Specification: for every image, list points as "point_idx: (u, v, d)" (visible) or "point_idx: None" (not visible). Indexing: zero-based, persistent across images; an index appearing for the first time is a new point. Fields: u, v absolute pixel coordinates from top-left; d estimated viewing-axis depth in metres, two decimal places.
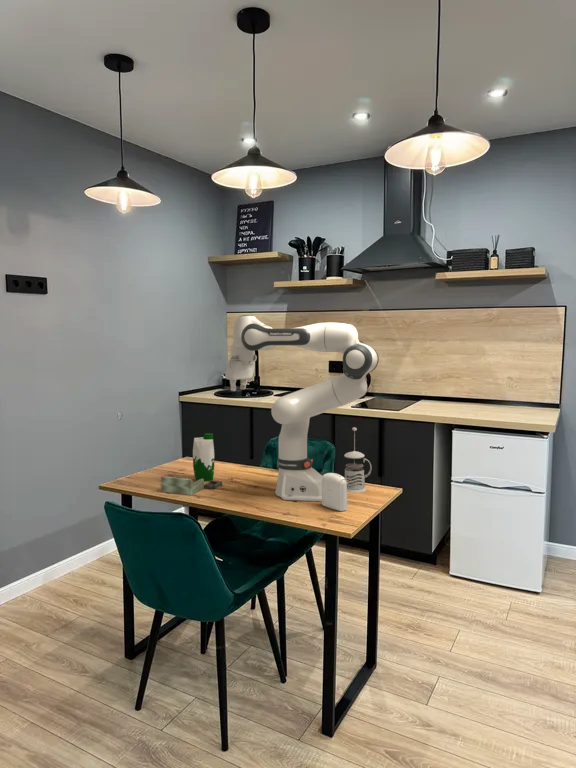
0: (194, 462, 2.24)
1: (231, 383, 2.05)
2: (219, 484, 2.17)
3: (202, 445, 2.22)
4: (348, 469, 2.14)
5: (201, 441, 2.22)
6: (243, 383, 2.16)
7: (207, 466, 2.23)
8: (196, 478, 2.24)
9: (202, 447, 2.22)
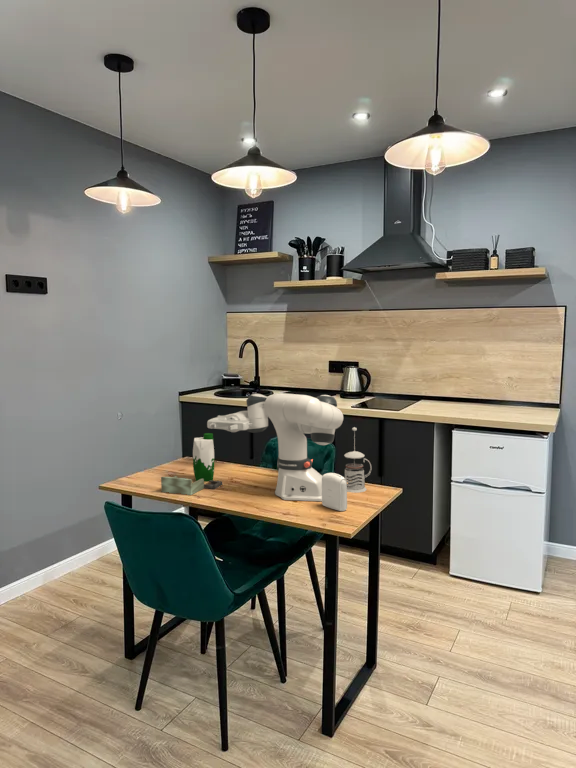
0: (194, 462, 2.24)
1: (235, 426, 2.40)
2: (219, 484, 2.17)
3: (202, 445, 2.22)
4: (348, 469, 2.14)
5: (201, 441, 2.22)
6: None
7: (207, 466, 2.23)
8: (196, 478, 2.24)
9: (202, 447, 2.22)
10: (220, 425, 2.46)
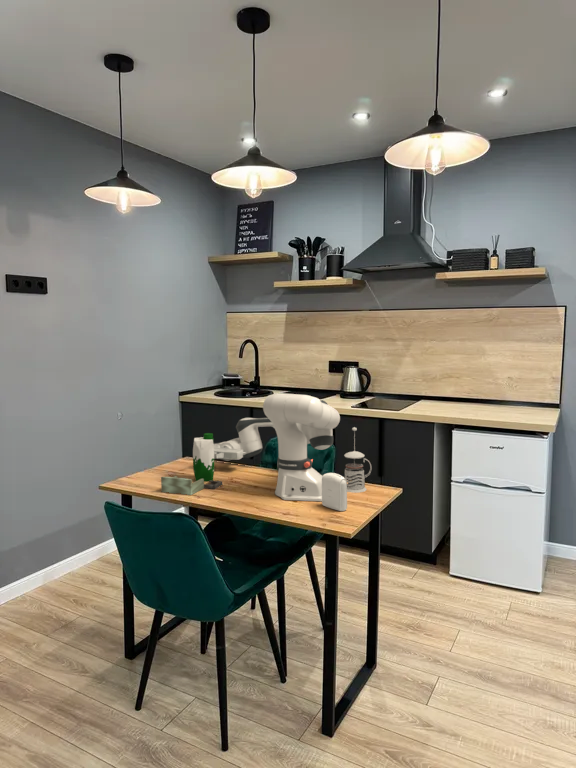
0: (194, 462, 2.24)
1: (221, 454, 2.38)
2: (219, 484, 2.17)
3: (202, 445, 2.22)
4: (348, 469, 2.14)
5: (201, 441, 2.22)
6: None
7: (207, 466, 2.23)
8: (196, 478, 2.24)
9: (202, 447, 2.22)
10: None
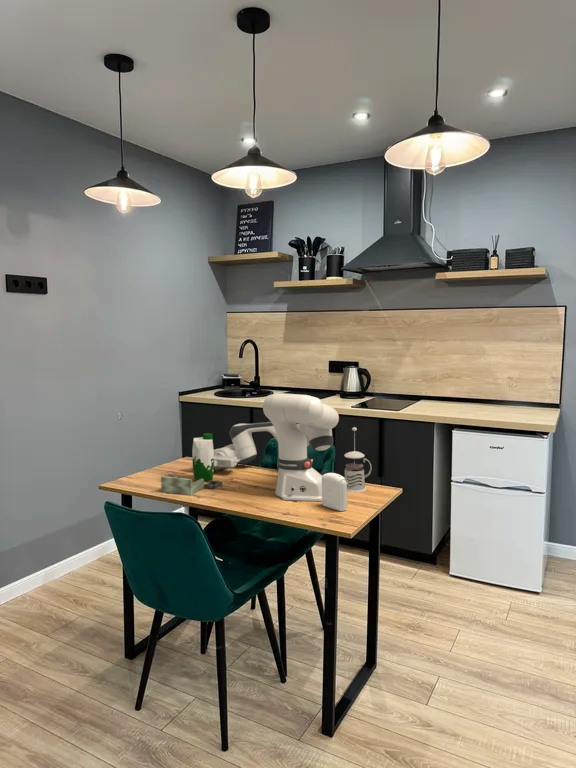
0: (193, 462, 2.24)
1: (214, 462, 2.34)
2: (219, 484, 2.17)
3: (201, 445, 2.22)
4: (348, 469, 2.14)
5: (200, 441, 2.22)
6: None
7: (206, 466, 2.23)
8: (195, 478, 2.23)
9: (201, 447, 2.22)
10: None
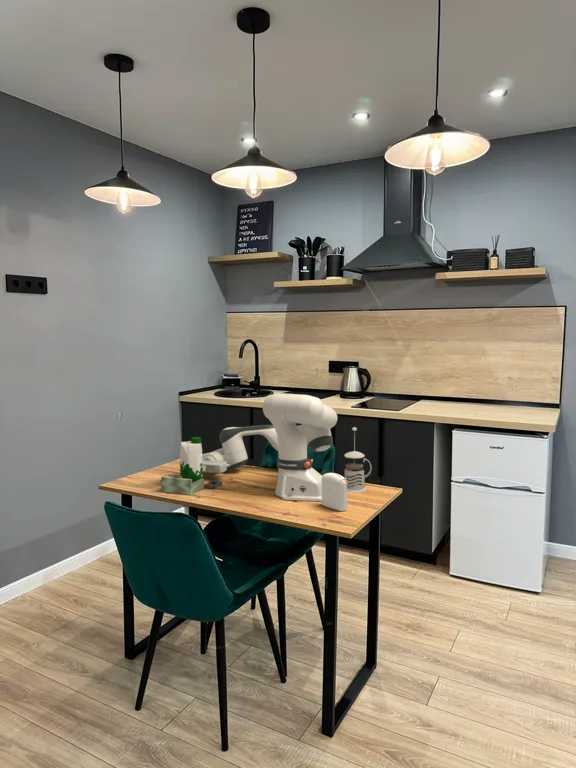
0: (182, 467, 2.14)
1: (203, 467, 2.25)
2: (219, 484, 2.17)
3: (190, 449, 2.13)
4: (348, 469, 2.14)
5: (189, 445, 2.13)
6: None
7: (195, 471, 2.14)
8: None
9: (190, 452, 2.13)
10: None
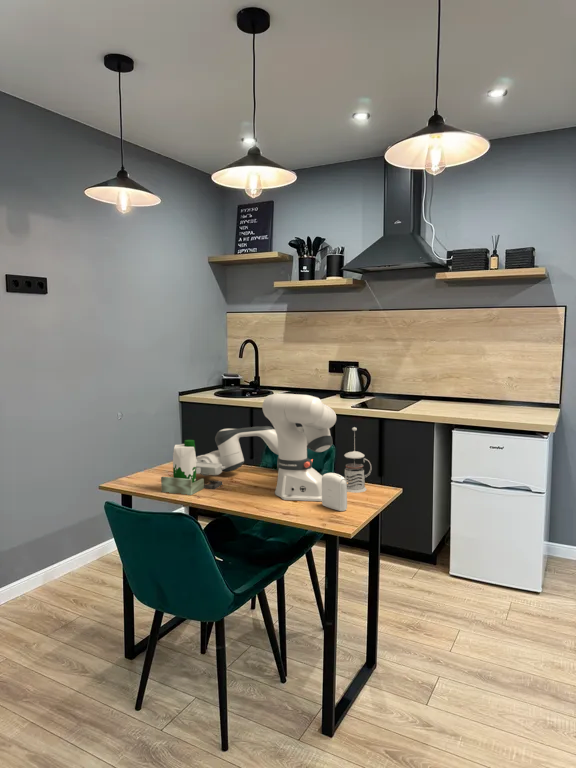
0: (174, 471, 2.09)
1: (198, 470, 2.18)
2: (219, 484, 2.17)
3: (182, 453, 2.07)
4: (348, 469, 2.14)
5: (181, 448, 2.07)
6: None
7: (187, 475, 2.08)
8: None
9: (182, 455, 2.07)
10: None
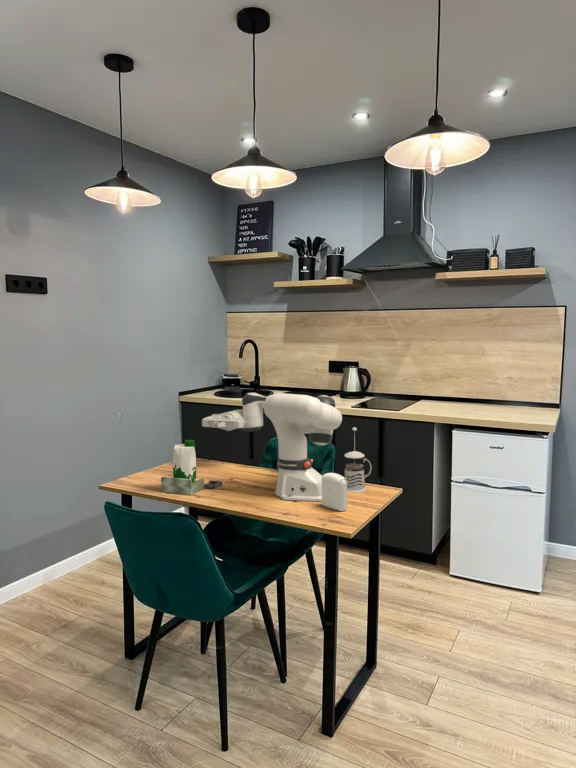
0: (174, 471, 2.09)
1: (222, 423, 2.40)
2: (219, 484, 2.17)
3: (182, 453, 2.07)
4: (348, 469, 2.14)
5: (181, 448, 2.07)
6: None
7: (187, 475, 2.08)
8: None
9: (182, 455, 2.07)
10: None
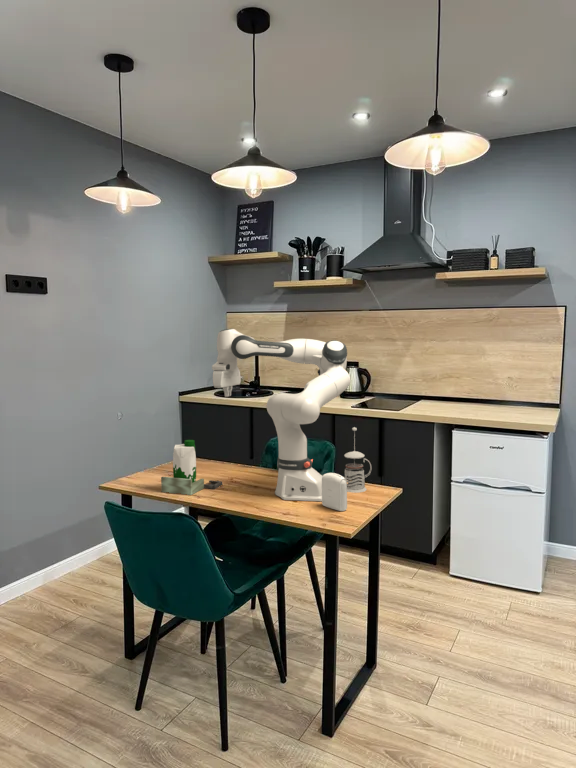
0: (174, 471, 2.09)
1: None
2: (219, 484, 2.17)
3: (182, 453, 2.07)
4: (348, 469, 2.14)
5: (181, 448, 2.07)
6: None
7: (187, 475, 2.08)
8: None
9: (182, 455, 2.07)
10: None
